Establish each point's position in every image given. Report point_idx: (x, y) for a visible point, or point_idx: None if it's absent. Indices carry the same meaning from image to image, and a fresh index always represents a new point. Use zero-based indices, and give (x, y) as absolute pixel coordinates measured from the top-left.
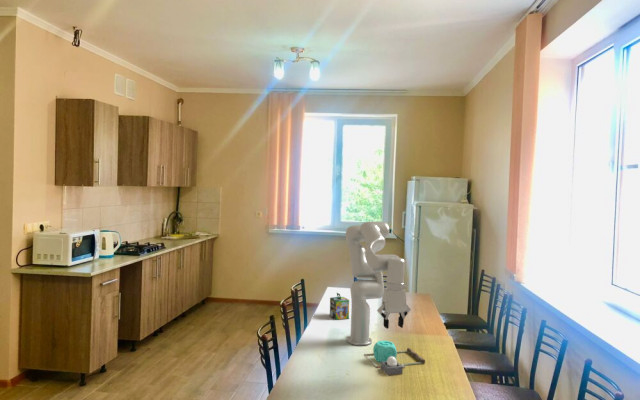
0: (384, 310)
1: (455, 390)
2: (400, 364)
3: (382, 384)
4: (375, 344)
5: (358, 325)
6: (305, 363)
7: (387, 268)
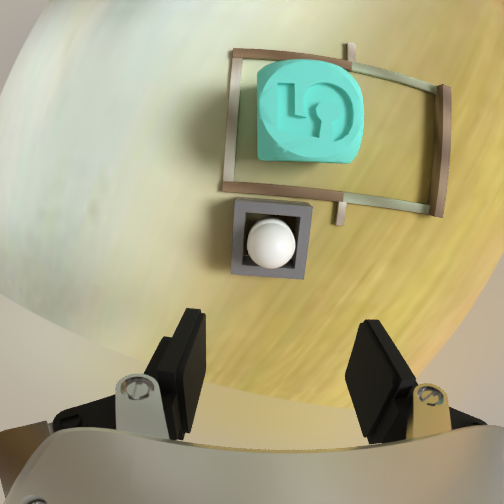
0: (120, 440)
1: None
2: (339, 196)
3: None
4: (257, 83)
5: None
6: (16, 109)
7: None
